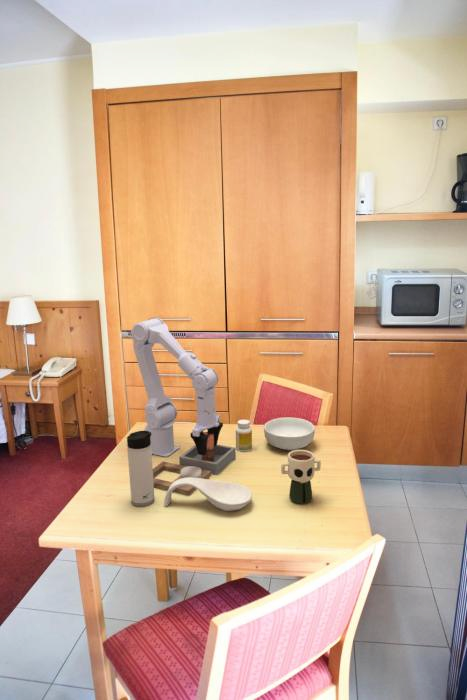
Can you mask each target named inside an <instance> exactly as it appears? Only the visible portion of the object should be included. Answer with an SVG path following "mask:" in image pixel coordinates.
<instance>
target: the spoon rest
mask: <svg viewBox="0 0 467 700" xmlns="http://www.w3.org/2000/svg"><path fill="white" fill-rule="evenodd" d="M172 482H173V481H172ZM185 485H188V486H192V487H194V488H196V490H197V491H199V492H200V493H201V494H202V495H203V496H204V497H205V498H206V499H207V500H208V501H209V502H210V503H211V504H212V505H213V506H214V507H215V508H218V509H220V510H221V511H225V512H232V511H237V510H240V509H243V508H244V507H245V506H247V505H248V504H249V503H250V501H252V499H253V492H252V490H251V488H248V486H246V485H243V484H242V483H241V484H240V483H238V482H230V481H222V480H215V479H214V480H213V479H209V478H208V479H201V478H192V477H188V478H182V479H179V480H176V481H175V482H173V483H172V484H171V485H170V487H169V489H168V491H166V493H165V496H164V499H163V500H164V502H163V506H164V507H168V505H170V503H171V500H172V495H173V492H172V491H173V490H174V489H176V488H177V487H180V486H185Z"/></svg>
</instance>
